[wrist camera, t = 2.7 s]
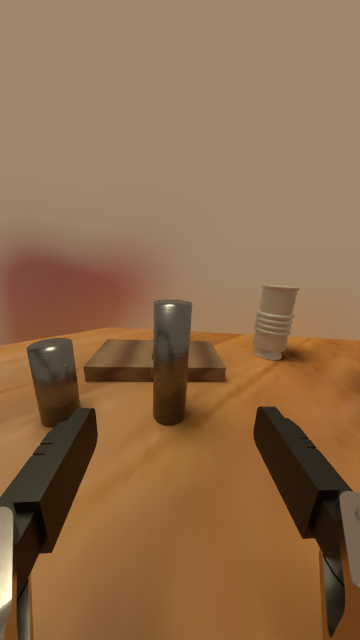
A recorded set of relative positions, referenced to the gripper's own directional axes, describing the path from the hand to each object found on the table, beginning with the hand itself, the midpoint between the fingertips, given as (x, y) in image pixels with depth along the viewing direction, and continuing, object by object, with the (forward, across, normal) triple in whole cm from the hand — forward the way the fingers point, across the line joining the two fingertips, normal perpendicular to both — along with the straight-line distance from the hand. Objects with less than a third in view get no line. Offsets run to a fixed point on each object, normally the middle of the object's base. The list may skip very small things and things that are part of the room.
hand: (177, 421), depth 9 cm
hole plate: (+24, +2, +10) cm, 26 cm away
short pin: (+12, +13, +10) cm, 20 cm away
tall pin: (+12, 0, +10) cm, 15 cm away
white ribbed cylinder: (+29, -22, +10) cm, 38 cm away
